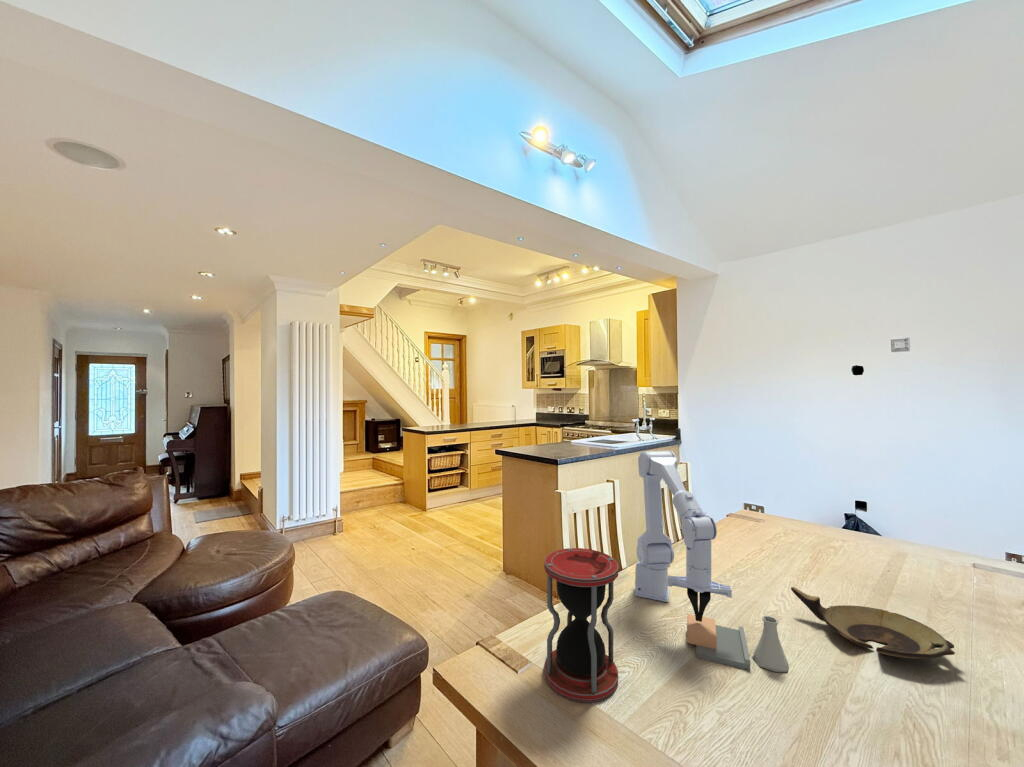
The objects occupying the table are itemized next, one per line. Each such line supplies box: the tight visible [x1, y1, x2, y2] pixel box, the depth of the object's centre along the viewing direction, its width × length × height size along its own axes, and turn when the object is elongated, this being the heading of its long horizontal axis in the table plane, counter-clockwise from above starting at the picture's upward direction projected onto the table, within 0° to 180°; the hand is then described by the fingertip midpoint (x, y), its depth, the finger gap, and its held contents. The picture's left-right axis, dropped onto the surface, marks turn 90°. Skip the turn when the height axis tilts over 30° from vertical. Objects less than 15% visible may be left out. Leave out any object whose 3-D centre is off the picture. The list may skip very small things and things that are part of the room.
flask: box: [752, 615, 790, 673], centre depth 95 cm, size 7×7×10 cm
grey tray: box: [695, 624, 751, 671], centre depth 101 cm, size 11×14×2 cm
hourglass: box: [543, 547, 619, 703], centre depth 91 cm, size 16×16×25 cm
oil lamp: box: [790, 586, 956, 660], centre depth 104 cm, size 22×30×8 cm
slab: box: [686, 613, 717, 649], centre depth 103 cm, size 3×8×6 cm
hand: (698, 619), depth 103 cm, fingers closed
